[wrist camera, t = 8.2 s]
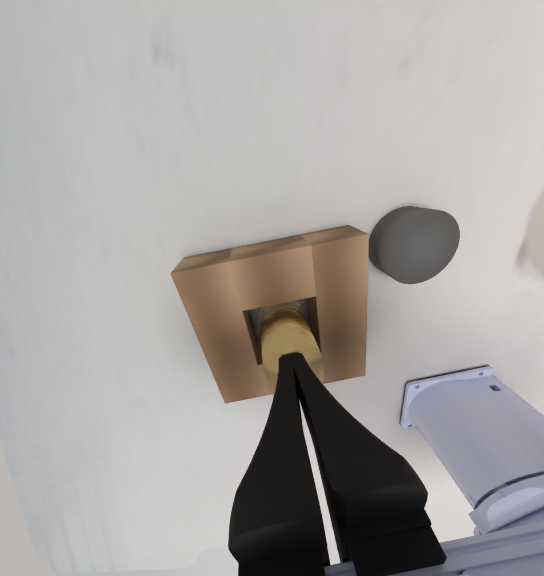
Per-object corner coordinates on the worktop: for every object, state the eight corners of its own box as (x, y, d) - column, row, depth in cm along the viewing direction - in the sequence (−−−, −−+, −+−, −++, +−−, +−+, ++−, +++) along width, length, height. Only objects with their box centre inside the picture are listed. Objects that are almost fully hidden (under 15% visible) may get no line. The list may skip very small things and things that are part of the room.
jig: (348, 225, 16) (368, 233, 13) (350, 350, 21) (365, 375, 18) (184, 257, 15) (170, 273, 13) (228, 375, 21) (225, 403, 18)
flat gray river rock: (435, 199, 15) (466, 202, 13) (426, 264, 18) (452, 275, 15) (367, 214, 15) (387, 219, 13) (366, 276, 18) (383, 290, 15)
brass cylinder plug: (297, 289, 17) (319, 335, 12) (304, 324, 19) (326, 380, 14) (254, 299, 17) (256, 350, 12) (264, 334, 19) (270, 393, 14)
